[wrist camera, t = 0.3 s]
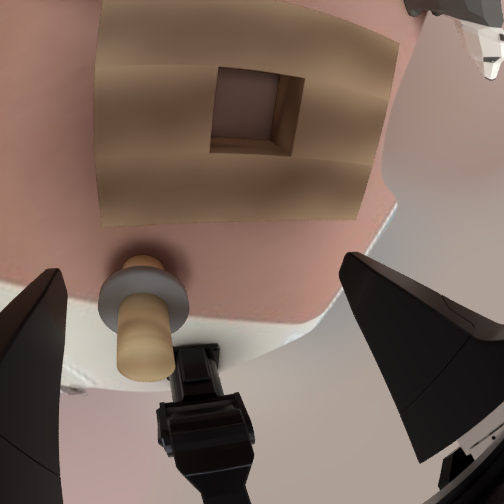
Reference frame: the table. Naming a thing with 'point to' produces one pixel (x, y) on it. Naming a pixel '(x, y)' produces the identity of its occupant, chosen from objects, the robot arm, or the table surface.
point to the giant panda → (472, 28)
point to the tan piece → (144, 317)
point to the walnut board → (202, 104)
